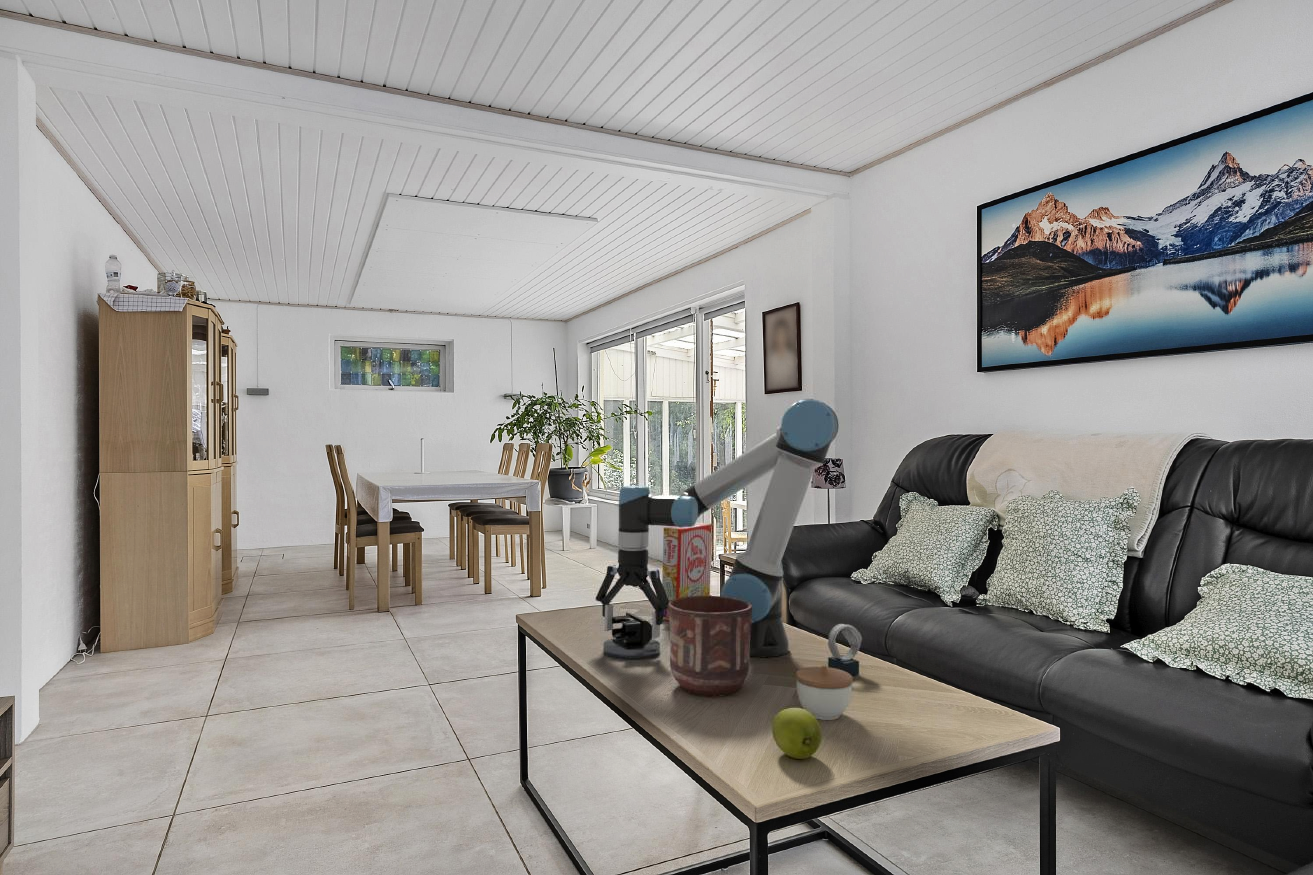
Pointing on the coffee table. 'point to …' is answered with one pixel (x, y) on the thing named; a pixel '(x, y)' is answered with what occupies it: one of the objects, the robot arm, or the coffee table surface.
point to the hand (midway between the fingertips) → (631, 633)
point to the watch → (846, 661)
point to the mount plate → (631, 650)
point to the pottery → (710, 643)
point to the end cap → (631, 631)
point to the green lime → (796, 732)
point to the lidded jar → (824, 691)
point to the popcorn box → (686, 562)
